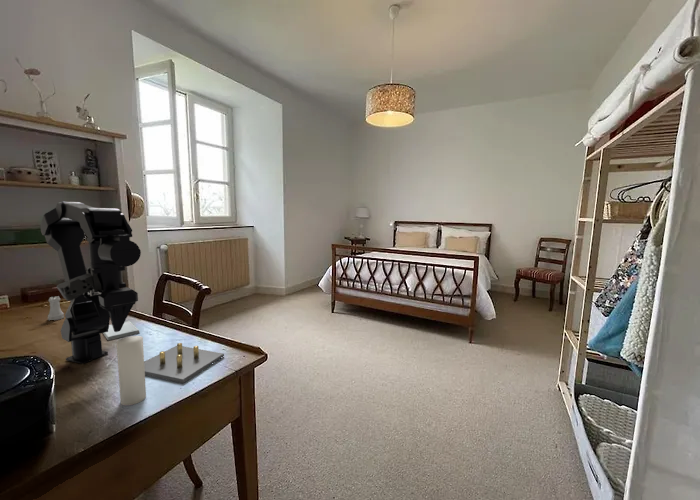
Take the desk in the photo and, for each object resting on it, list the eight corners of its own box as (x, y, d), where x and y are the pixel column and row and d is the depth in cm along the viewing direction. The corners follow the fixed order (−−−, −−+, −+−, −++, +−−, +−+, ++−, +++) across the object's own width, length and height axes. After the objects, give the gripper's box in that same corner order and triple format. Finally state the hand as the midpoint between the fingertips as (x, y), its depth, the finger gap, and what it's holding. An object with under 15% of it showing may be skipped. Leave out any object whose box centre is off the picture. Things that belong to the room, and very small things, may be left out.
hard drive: (139, 329, 99) (129, 320, 107) (107, 337, 93) (99, 326, 101) (139, 334, 99) (130, 325, 107) (108, 342, 93) (100, 331, 101)
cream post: (115, 403, 63) (111, 342, 61) (135, 391, 67) (132, 334, 65) (131, 407, 61) (127, 345, 60) (151, 395, 66) (147, 337, 64)
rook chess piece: (52, 317, 111) (50, 295, 110) (67, 316, 113) (65, 295, 112) (44, 321, 107) (42, 299, 106) (60, 320, 108) (58, 298, 107)
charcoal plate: (130, 371, 75) (129, 356, 74) (177, 348, 88) (177, 335, 88) (183, 383, 70) (182, 367, 70) (224, 356, 84) (223, 343, 83)
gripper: (49, 261, 70) (55, 327, 72) (70, 271, 59) (76, 349, 60) (109, 257, 79) (113, 315, 80) (136, 265, 68) (140, 332, 69)
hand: (110, 326), depth 72 cm, fingers open, 9 cm apart
